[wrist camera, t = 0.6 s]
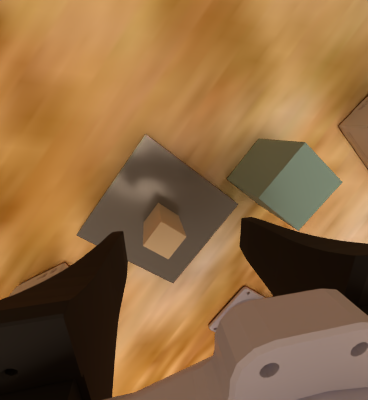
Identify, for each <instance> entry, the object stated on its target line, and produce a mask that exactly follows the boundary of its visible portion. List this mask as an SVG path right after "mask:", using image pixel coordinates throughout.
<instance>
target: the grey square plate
mask: <svg viewBox="0 0 368 400" xmlns="http://www.w3.org/2000/svg"><path fill="white" fill-rule="evenodd" d="M237 205H238V204H237V203H236V202H235V201H233V200H232V199H231V198H229V197H228V196H227V195H225V194H224V193H223V192H222V191H220V190H219V189H218V188H216V187H215V186H214V185H212V184H211V183H210V182H208V181H207V180H206V179H204V178H203V177H202V176H200V175H199V174H198V173H196V172H195V171H194V170H193V169H191V168H190V167H189V166H187V165H186V164H185V163H183V162H182V161H181V160H179V159H178V158H177V157H175V156H174V155H173V154H171V153H170V152H169V151H167V150H166V149H165V148H164V147H162V146H161V145H160V144H158V143H157V142H156V141H154V140H153V139H152V138H150V137H149V136H148V135H146V134H145V136H144V137H143V138H142V140H141V141H140V143H139V144H138V146H137V147H136V149H135V150H134V152H133V153H132V155H131V156H130V157H129V159H128V160H127V162H126V163H125V165H124V166H123V168H122V169H121V171H120V172H119V174H118V175H117V176H116V178H115V179H114V181H113V182H112V184H111V185H110V187H109V188H108V190H107V191H106V193H105V194H104V195H103V197H102V198H101V200H100V201H99V203H98V204H97V206H96V207H95V209H94V210H93V212H92V213H91V215H90V216H89V217H88V219H87V220H86V222H85V223H84V225H83V226H82V228H81V229H80V231H79V232H78V234H77V236H79V237H81V238H83V239H85V240H87V241H89V242H91V243H93V244H95V245H98V244H99V243H100V242H101V241H103V240H104V239H105V238H106V237H107V236H108V235H109V234H110V233H112V232H117V231H123V232H124V239H125V246H126V253H127V260H128V261H129V262H131V263H133V264H135V265H137V266H139V267H141V268H143V269H145V270H147V271H149V272H151V273H153V274H155V275H157V276H159V277H161V278H163V279H165V280H167V281H169V282H172V283H174V282H175V280H176V279H177V278H178V277H179V276H180V274H181V273H182V272H183V271H184V269H185V268H186V267H187V266H188V265H189V263H190V262H191V261H192V260H193V259H194V257H195V256H196V255H197V254H198V253H199V251H200V250H201V249H202V248H203V246H204V245H205V244H206V243H207V242H208V240H209V239H210V238H211V237H212V236H213V234H214V233H215V232H216V231H217V229H218V228H219V227H220V226H221V225H222V223H223V222H224V221H225V220H226V219H227V217H228V216H229V215H230V214H231V213H232V211H233V210H234V209H235V208H236V206H237Z"/></svg>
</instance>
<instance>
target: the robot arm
mask: <svg viewBox="0 0 368 400" xmlns="http://www.w3.org/2000/svg"><path fill="white" fill-rule="evenodd" d="M240 248H241V250H242V252H243V254H244V256H245V258H246V259H247V261H248V262H249V263H250V265H251V266H252V268H253V269H254V270H255V272H256V273H257V274H258V275H259V277H260V278H261V279H262V281H263V282H264V283H265V285H266V286H267V287H268V289H269V290H270V292H271V293H272V295H273V296H274V297H269V298H265V297H264V296H262V295H260V294H258V293H257V292H255V291H253V290H251V289H250V288H248V287H243V288H242V289H241V290H240V291H239V292H238V293H237V294H236V296H235V297H234V298H233V299H232V300H231V301H230V302H229V303H228V304H227V306H226V307H225V308H224V309H223V310H222V311H221V312H220V313H219V314H218V315H217V317H216V318H215V319H214V320H213V321H212V322H211V323H210V324H209V329H210V330H212V331H214V332H216V333H215V350H214V355H213V356H211V357H209V358H207V359H205V360H202V361H200V362H198V363H196V364H194V365H192V366H190V367H188V368H186V369H183V370H181V371H179V372H177V373H175V374H173V375H171V376H169V377H166V378H164V379H162V380H160V381H158V382H156V383H154V384H152V385H149V386H147V387H145V388H143V389H141V390H139V391H137V392H135V393H130V394H126V395H122V396H117V397H113V398H112V389H113V375H114V361H115V349H116V338H117V328H118V319H119V312H120V307H121V303H122V298H123V293H124V288H125V283H126V278H127V265H128V260H127V253H126V246H125V239H124V232H123V231H117V232H112V233H110V234H109V235H108V236H107V237H106V238H105V239H104V240H103V241H101V242H100V243H99V244H98V245H97V246H96V247H95V248H94V249H92V250H91V251H90V252H89V253H87V254H86V255H85V256H84V257H82V258H81V259H80V260H78V261H77V262H75V263H74V264H72V265H71V266H69V267H68V268H66V269H65V270H63V271H61V272H59V273H58V274H56V275H54V276H52V277H50V278H49V279H47V280H45V281H43V282H41V283H39V284H37V285H35V286H33V287H30V288H28V289H26V290H24V291H22V292H19V293H17V294H14V295H12V296H9V297H7V298H4V299H2V300H0V400H368V244H365V243H355V242H346V241H339V240H333V239H327V238H322V237H317V236H313V235H308V234H304V233H300V232H297V231H294V230H290V229H287V228H284V227H281V226H278V225H275V224H272V223H269V222H266V221H263V220H260V219H257V218H253V217H248V218H242V220H241V235H240Z"/></svg>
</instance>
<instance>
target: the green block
mask: <svg viewBox="0 0 368 400" xmlns="http://www.w3.org/2000/svg"><path fill="white" fill-rule="evenodd" d="M227 180H229V181H230V182H231V183H232V184H234V185H235V186H236V187H237V188H239V189H240V190H241V191H242V192H244V193H245V194H246V195H248V196H249V197H250V198H251V199H253V200H254V201H255V202H256V203H258V204H259V205H260V206H262V207H263V208H265V209H266V210H268V211H269V212H271V213H272V214H274V215H275V216H277V217H279V218H280V219H282V220H283V221H285V222H286V223H288V224H289V225H291V226H292V227H294V228H295V229H297V230H298V231H299V229H300V228H301V227H302V226H303V225H304V224H305V223H306V222H307V221H308V220H309V218H310V217H311V216H312V215H313V214H314V213H315V212H316V211H317V210H318V209H319V207H320V206H321V205H322V204H323V203H324V202H325V201H326V200H327V199H328V198H329V196H330V195H331V194H332V193H333V192H334V191H335V190H336V189H337V188H338V187H339V185H340V184H341V183H342V181H341V180H340V179H339V178H338V177H337V176H336V175H335V174H334V173H333V172H332V170H331V169H330V168H329V167H328V166H327V165H326V164H325V163H324V162H323V161H322V160H321V159H320V158H319V157H318V155H317V154H316V153H315V152H314V151H313V150H312V149H311V148H310V147H309V146H308V145H307V144H306V143H305V142H294V141H281V140H269V139H258V140H257V141H256V143H255V144H254V145H253V146H252V148H251V149H250V150H249V151H248V153H247V154H246V155H245V157H244V158H243V159H242V160H241V162H240V163H239V164H238V165H237V167H236V168H235V169H234V170H233V172H232V173H231V174H230V175H229V177H228V178H227Z"/></svg>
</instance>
